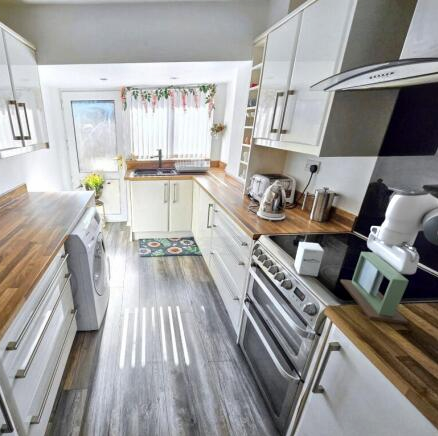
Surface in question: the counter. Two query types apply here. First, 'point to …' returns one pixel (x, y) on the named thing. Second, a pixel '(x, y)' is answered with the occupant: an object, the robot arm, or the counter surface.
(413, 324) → the counter surface
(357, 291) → the window frame
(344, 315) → the counter surface
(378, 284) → the sliding pane
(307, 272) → the white packaging box
